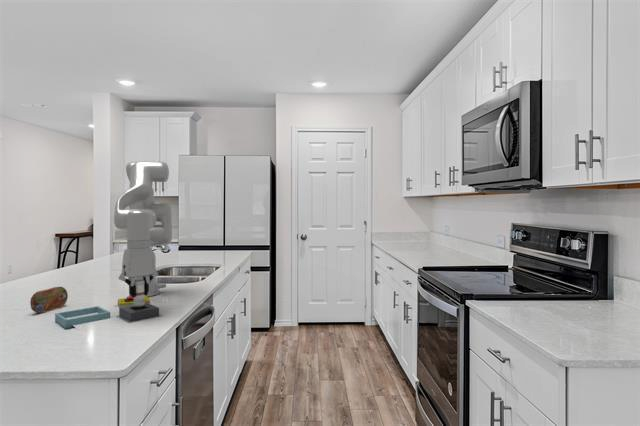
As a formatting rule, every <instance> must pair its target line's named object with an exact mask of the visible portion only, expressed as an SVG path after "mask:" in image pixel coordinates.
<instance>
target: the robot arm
mask: <svg viewBox="0 0 640 426" xmlns="http://www.w3.org/2000/svg"><path fill="white" fill-rule="evenodd" d="M125 172H126V176H127V179H128V182H129V188H128V189H127V190H125V191H124V192H123V193H122V194H120V196H119V197H118V198H117V200H116V202H115V205H114V215H113V222H114V223H113V224H114V225H115V228H117V229H119V230H126V248H124V251H123V254H122V264H121V273H120V274H119V276H118V280H120V281H122V282H124V283H125V284H127V286H128V291H129V292H128V293H129V294H128V297H129V296H132V297H136V286H134V282H135V280H145V284H144V291H145V296H148V297H153V296H156V295H159V294H160V289H164V288H167V283H157V281H156V280H157V279H156V278H157V276H158V275H159V272H158V271H157V269H156V267H157V265H156V254H155V252H154V251H153V249H152V247H153V246H168V245H170V244H171V243H172V239H173V217H172V216H173V214H172V212H173V211H172V206H171V204H170V202H168V201H166V200H155V191H154V188H153V183H166V182H167V181H168V179H169V175H170V168H169V166H168V163H166V162H164V161H146V160H145V161H130V162H128V163H127V164H126V166H125ZM131 205H133V209H132V208H127V207H129V206H131ZM157 222H159V223H161V224H157ZM126 277H127V278H126Z"/></svg>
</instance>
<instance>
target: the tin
mask: <svg viewBox="0 0 640 426" xmlns="http://www.w3.org/2000/svg"><path fill="white" fill-rule="evenodd" d="M68 298H69V297H68V291H67V289H66V288H65V287H63V286H54V287H50V288H46V289H43V290H39V291H36V292H35V293H33V295H32V296H31V297H30V301H29V302H30V304H29V305H30V309H31V311H33V312H35V313H37V314H38V313H39V314H45V313H48V312H47V311H49V312H51V311H55V310H57V308H58V309H60V308H62V307H64V306H65V305H66V303H67V301H68ZM54 309H55V310H54ZM50 310H51V311H50Z"/></svg>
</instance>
